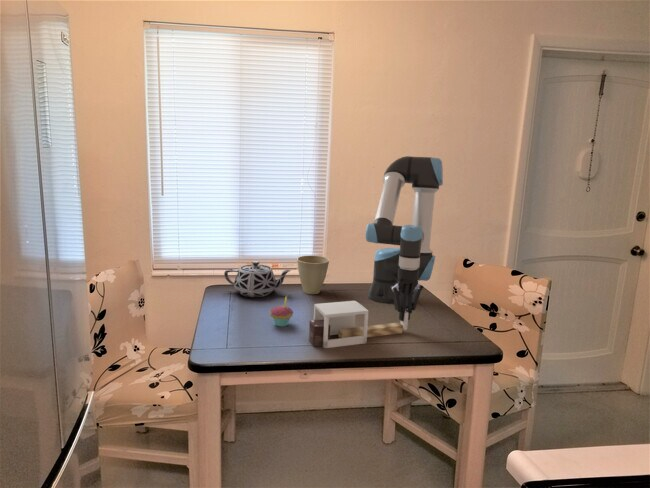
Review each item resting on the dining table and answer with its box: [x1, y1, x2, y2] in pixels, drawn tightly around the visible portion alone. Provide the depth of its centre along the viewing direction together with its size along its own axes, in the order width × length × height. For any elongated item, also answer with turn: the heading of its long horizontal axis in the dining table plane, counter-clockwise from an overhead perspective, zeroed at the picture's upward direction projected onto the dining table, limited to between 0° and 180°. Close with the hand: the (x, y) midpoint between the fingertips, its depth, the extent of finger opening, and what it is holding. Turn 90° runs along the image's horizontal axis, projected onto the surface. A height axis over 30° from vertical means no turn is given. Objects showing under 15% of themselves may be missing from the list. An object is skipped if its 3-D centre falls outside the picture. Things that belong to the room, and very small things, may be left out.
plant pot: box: [296, 255, 330, 295], centre depth 213 cm, size 15×15×16 cm
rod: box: [337, 321, 403, 339], centre depth 167 cm, size 25×3×3 cm, turn 113°
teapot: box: [223, 260, 292, 298], centre depth 207 cm, size 19×31×15 cm, turn 88°
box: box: [308, 319, 331, 347], centre depth 158 cm, size 6×6×7 cm
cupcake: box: [269, 295, 294, 327], centre depth 172 cm, size 9×8×12 cm
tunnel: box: [313, 300, 369, 349], centre depth 161 cm, size 16×11×12 cm
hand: (403, 328), depth 171 cm, fingers closed
